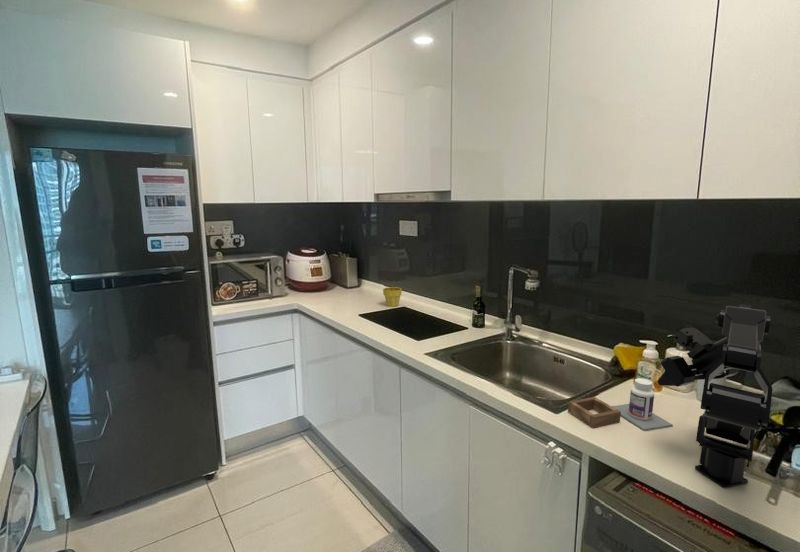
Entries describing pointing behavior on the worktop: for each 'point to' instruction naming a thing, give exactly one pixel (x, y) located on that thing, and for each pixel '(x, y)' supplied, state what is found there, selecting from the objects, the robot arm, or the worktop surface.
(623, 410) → the grey mat
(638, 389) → the pill bottle
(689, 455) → the worktop surface
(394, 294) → the plant pot
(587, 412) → the walnut socket
